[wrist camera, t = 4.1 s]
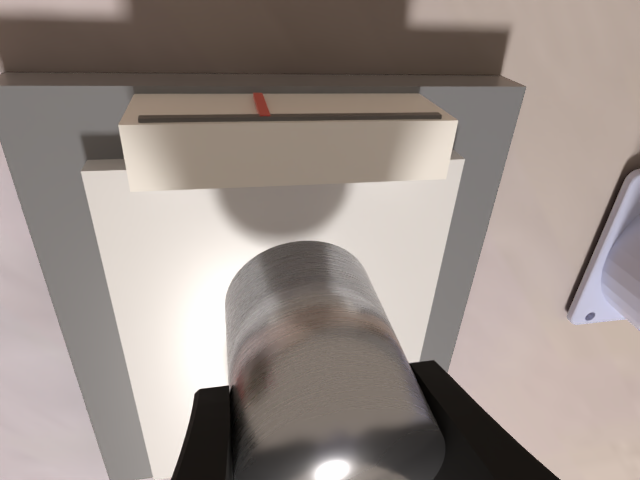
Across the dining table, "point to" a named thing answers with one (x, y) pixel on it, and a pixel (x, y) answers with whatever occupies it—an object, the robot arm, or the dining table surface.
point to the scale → (240, 215)
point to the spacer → (321, 374)
